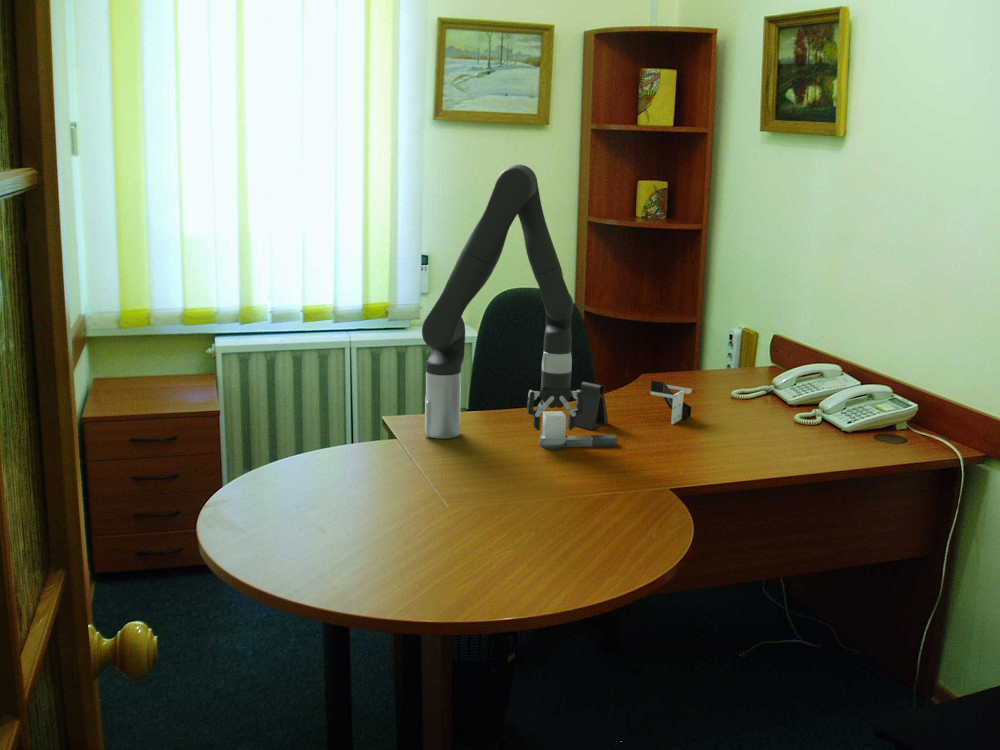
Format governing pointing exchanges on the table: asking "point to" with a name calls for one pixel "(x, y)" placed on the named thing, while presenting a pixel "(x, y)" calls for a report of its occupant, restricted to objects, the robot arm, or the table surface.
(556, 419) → the small white cube
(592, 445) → the ratchet
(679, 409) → the two-tone angle bracket
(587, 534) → the table surface
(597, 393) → the dark folded stand
